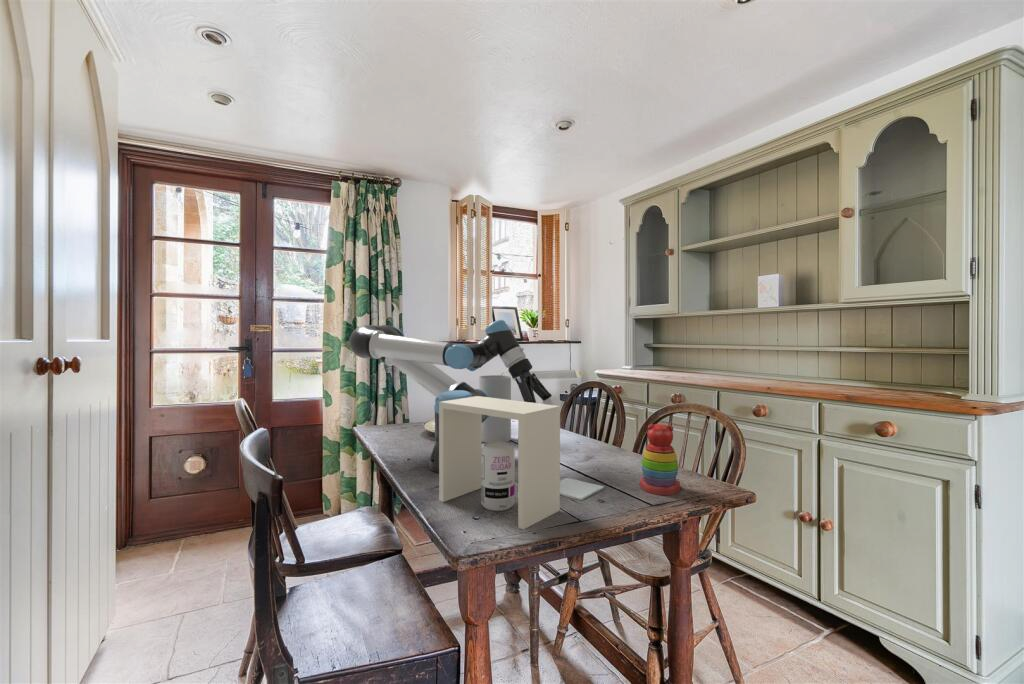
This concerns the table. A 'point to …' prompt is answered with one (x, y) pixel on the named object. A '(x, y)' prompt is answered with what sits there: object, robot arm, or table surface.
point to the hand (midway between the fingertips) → (550, 419)
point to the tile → (578, 488)
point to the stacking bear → (660, 462)
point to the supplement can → (497, 476)
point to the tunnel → (534, 452)
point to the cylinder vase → (493, 425)
